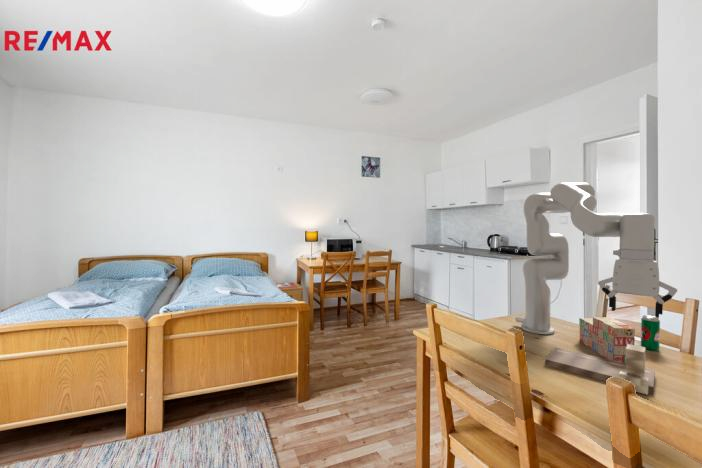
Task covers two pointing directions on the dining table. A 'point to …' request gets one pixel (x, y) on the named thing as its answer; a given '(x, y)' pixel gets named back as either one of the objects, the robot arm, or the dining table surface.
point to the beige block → (635, 368)
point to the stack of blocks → (607, 336)
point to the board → (592, 366)
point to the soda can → (650, 332)
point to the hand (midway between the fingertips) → (634, 313)
